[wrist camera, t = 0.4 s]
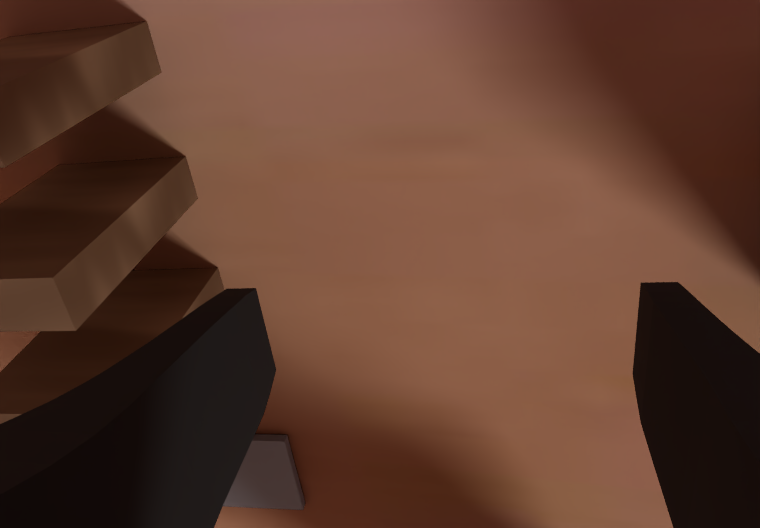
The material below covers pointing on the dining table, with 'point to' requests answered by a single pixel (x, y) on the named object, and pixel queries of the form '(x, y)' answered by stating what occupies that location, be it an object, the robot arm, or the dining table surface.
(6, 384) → the domino
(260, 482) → the slot pad
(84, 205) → the domino
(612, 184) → the dining table surface
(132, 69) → the domino
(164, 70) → the dining table surface
